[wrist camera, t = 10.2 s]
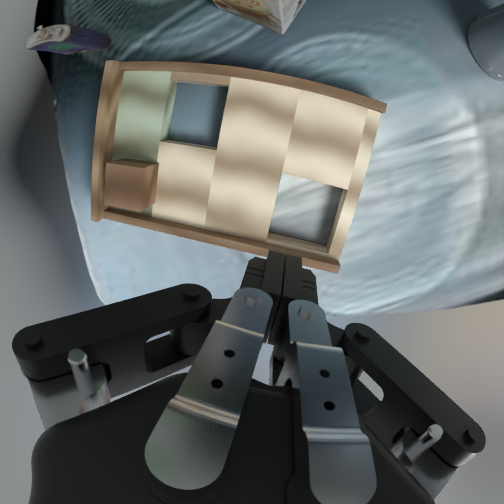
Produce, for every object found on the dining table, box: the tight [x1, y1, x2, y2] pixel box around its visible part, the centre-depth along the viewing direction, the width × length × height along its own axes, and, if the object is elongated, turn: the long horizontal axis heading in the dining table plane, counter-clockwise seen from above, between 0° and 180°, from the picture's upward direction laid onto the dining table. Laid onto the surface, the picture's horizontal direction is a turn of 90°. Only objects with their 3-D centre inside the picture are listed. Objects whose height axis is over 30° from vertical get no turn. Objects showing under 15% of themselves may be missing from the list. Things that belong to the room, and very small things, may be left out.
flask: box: [26, 24, 111, 54], centre depth 24 cm, size 9×3×11 cm, turn 78°
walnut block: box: [104, 158, 159, 212], centre depth 32 cm, size 5×5×4 cm
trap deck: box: [91, 60, 387, 274], centre depth 31 cm, size 20×31×6 cm, turn 79°
